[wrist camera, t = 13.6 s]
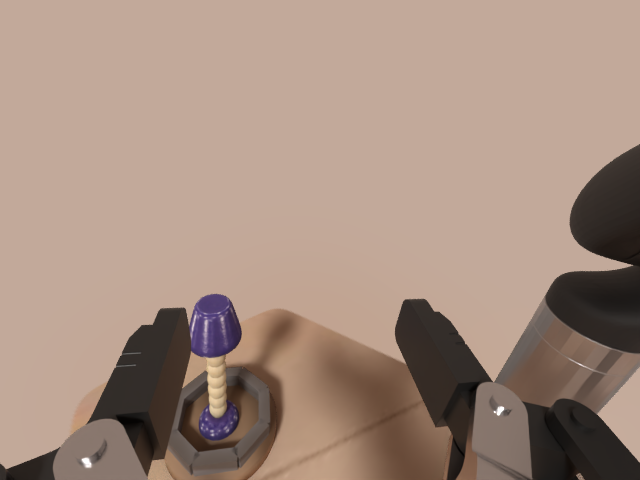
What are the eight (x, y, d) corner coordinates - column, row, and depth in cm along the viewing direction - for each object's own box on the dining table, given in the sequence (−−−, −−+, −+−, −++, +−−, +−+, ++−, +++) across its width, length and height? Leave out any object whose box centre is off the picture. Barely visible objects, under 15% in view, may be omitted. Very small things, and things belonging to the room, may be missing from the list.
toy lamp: (227, 392, 36) (218, 279, 28) (253, 418, 34) (251, 303, 26) (190, 422, 33) (168, 304, 25) (216, 453, 31) (201, 334, 22)
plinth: (273, 378, 41) (274, 358, 39) (278, 483, 31) (280, 463, 29) (177, 386, 38) (173, 366, 37) (148, 503, 28) (141, 484, 26)
